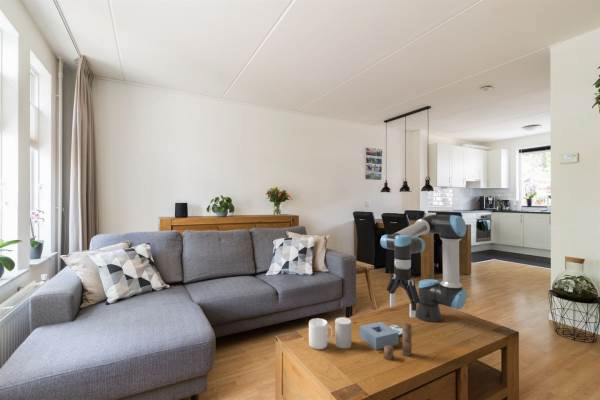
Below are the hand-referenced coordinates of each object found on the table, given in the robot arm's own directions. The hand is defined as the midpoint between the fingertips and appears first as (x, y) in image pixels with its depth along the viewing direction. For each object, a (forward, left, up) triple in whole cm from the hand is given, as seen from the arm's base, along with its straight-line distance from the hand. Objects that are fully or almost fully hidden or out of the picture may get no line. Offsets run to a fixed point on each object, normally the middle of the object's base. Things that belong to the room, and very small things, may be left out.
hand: (402, 311), depth 138 cm
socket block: (+3, -14, -20) cm, 24 cm away
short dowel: (+9, +1, -20) cm, 22 cm away
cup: (+22, -18, -20) cm, 35 cm away
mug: (+33, -22, -20) cm, 44 cm away
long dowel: (-1, +2, -20) cm, 20 cm away
